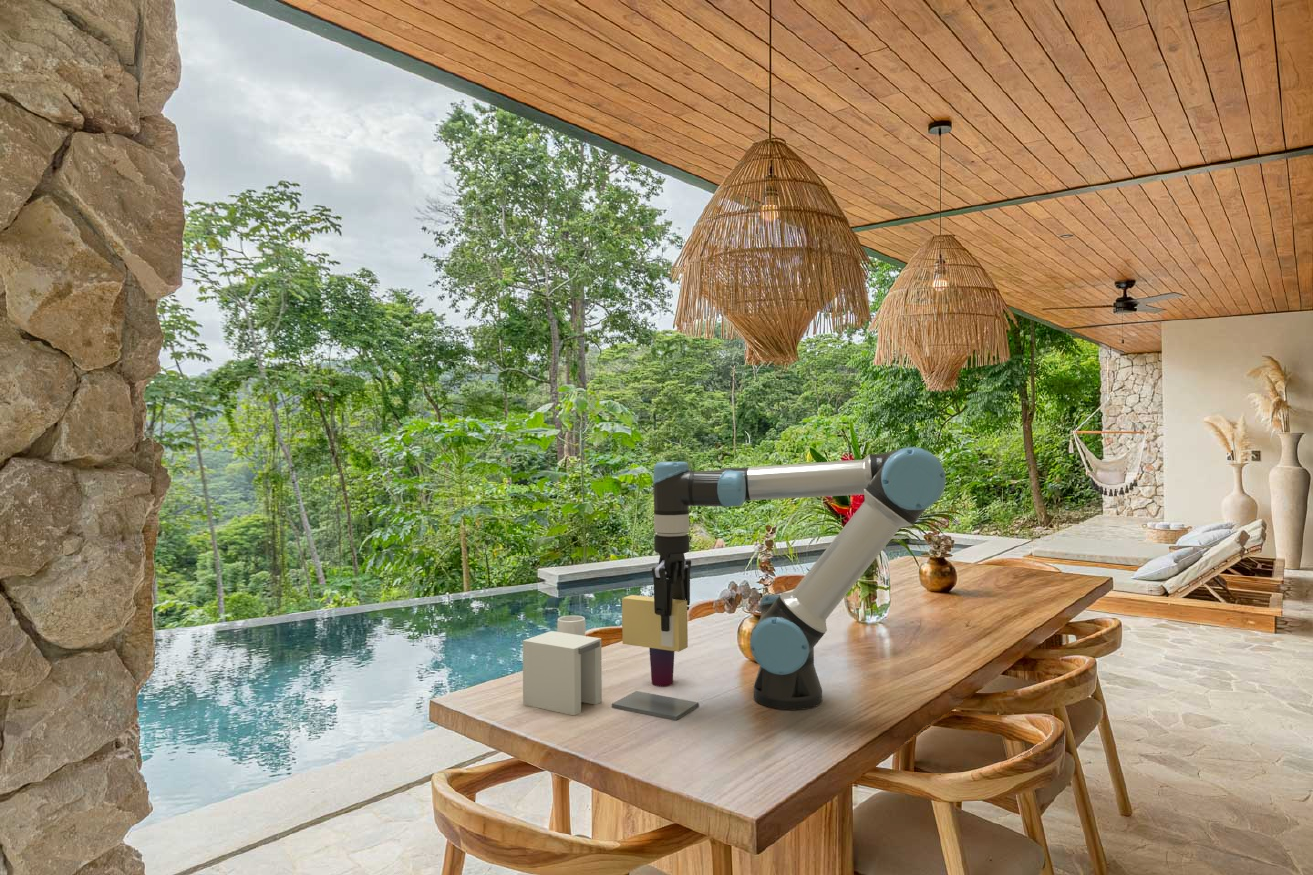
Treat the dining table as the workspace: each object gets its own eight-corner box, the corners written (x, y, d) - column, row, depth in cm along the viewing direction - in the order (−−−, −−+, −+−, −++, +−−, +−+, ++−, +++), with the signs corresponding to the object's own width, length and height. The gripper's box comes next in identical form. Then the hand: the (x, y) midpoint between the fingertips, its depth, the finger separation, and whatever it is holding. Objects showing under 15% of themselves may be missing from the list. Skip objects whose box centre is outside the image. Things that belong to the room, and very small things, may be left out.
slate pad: (698, 706, 169) (698, 702, 169) (676, 720, 160) (676, 716, 160) (636, 694, 177) (636, 690, 177) (611, 707, 169) (611, 703, 169)
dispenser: (603, 702, 172) (603, 638, 172) (576, 715, 163) (576, 649, 164) (551, 691, 180) (551, 630, 180) (523, 704, 171) (522, 640, 171)
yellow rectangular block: (687, 647, 167) (687, 600, 167) (678, 651, 163) (678, 603, 163) (632, 639, 174) (631, 594, 174) (622, 643, 170) (621, 598, 170)
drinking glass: (581, 685, 184) (580, 622, 184) (553, 684, 185) (553, 620, 185) (589, 677, 190) (588, 615, 190) (562, 675, 192) (562, 614, 192)
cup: (681, 680, 187) (680, 618, 187) (669, 689, 181) (669, 624, 181) (655, 677, 190) (654, 615, 190) (643, 685, 184) (642, 621, 184)
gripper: (675, 528, 176) (676, 632, 176) (635, 537, 161) (637, 650, 161) (705, 530, 172) (706, 636, 172) (667, 539, 157) (668, 655, 157)
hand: (673, 643), depth 166 cm, fingers closed on yellow rectangular block, 4 cm apart
